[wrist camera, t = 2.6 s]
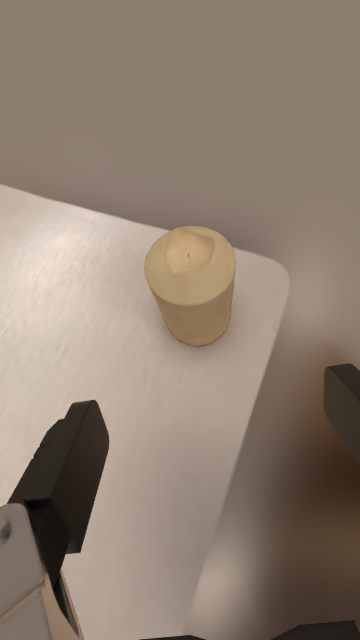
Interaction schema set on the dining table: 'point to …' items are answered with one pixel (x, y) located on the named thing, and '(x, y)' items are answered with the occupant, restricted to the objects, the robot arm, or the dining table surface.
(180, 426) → the dining table surface
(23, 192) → the dining table surface
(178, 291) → the candle
